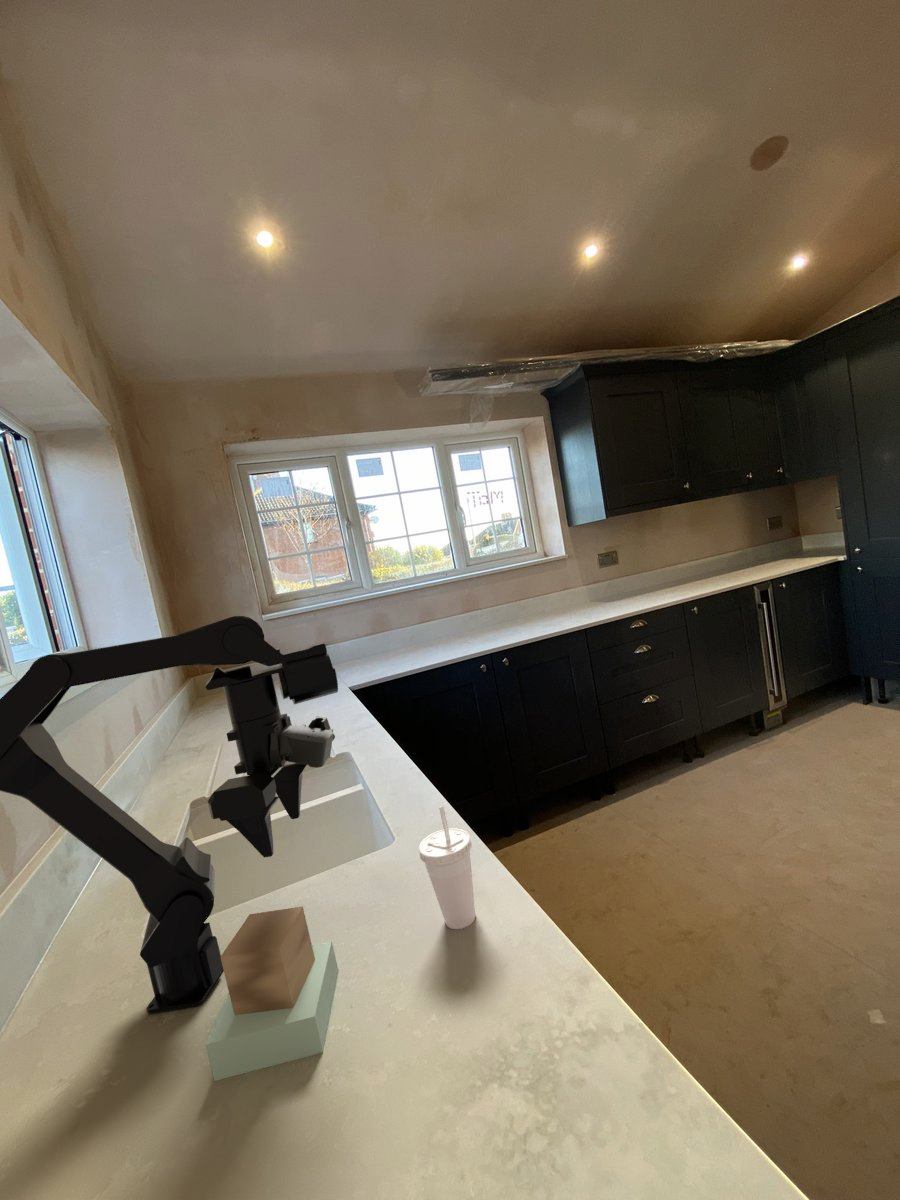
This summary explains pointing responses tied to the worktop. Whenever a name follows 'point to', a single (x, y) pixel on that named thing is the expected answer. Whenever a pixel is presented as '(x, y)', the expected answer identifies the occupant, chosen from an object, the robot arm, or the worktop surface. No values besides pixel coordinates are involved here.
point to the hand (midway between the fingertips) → (283, 835)
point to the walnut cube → (268, 961)
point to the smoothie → (450, 873)
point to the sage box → (276, 1025)
